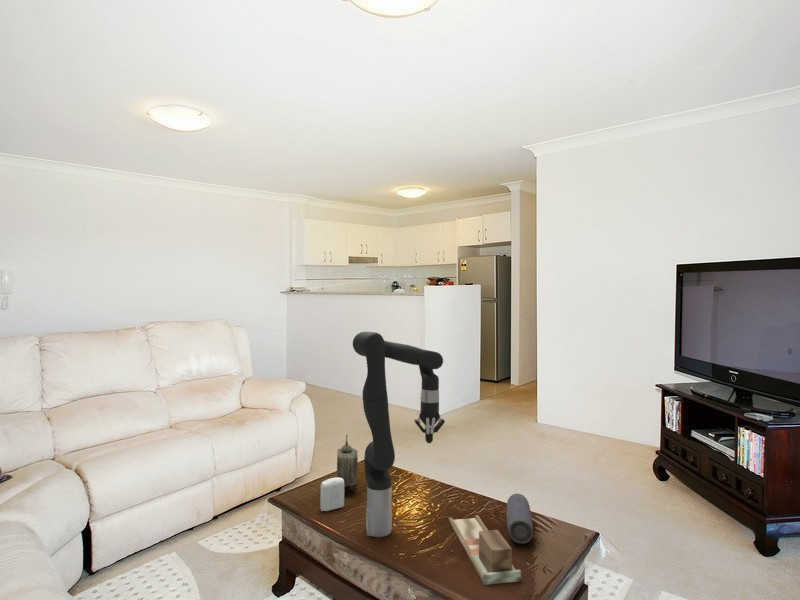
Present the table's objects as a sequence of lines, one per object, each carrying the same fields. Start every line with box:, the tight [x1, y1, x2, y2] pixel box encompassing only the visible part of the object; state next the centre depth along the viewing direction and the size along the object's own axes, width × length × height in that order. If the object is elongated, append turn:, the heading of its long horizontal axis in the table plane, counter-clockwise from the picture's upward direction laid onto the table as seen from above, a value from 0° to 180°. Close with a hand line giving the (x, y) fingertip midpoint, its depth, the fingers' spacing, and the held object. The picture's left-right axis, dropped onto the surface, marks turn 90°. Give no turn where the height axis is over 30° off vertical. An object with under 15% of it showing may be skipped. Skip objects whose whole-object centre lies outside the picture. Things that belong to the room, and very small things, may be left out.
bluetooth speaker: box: [505, 493, 534, 544], centre depth 173 cm, size 23×9×10 cm, turn 168°
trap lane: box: [448, 514, 522, 586], centre depth 162 cm, size 12×41×3 cm, turn 9°
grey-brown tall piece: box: [336, 434, 359, 490], centre depth 210 cm, size 14×9×25 cm, turn 6°
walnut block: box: [479, 529, 513, 573], centre depth 150 cm, size 6×12×9 cm, turn 10°
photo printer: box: [319, 476, 345, 512], centre depth 192 cm, size 10×4×12 cm, turn 123°
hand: (429, 442), depth 188 cm, fingers closed
